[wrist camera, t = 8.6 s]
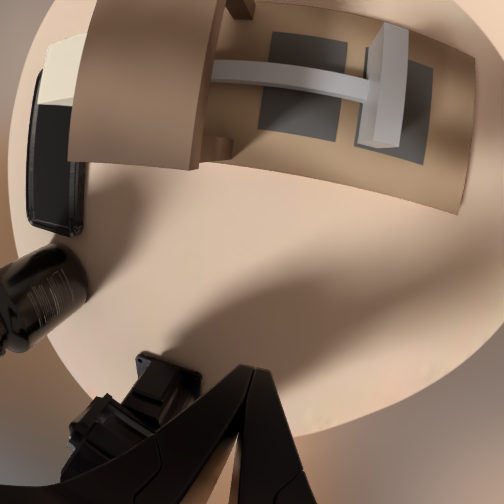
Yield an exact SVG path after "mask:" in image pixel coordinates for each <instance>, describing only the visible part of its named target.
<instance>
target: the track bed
mask: <svg viewBox="0 0 504 504" xmlns="http://www.w3.org/2000/svg"><path fill="white" fill-rule="evenodd" d="M254 3H255V5H256V7H255V12H254V18H253V20H234V19H233V18H232V16H231V14H230V13H229V11H228V10H227V8H226V7H225V9H224V13H223V18H222V23H221V28H220V33H219V38H218V43H217V48H216V53H215V59H214V60H242V61H257V62H269V63H278V64H287V65H294V66H302V67H308V68H314V69H320V70H326V71H331V72H336V73H341V74H345V75H350V76H354V77H358V78H363V79H366V73H367V63H368V51H369V47H370V46H371V44H372V42H373V40H374V39H375V37H376V35H377V34H378V32H379V30H380V28H381V27H382V25H383V23H384V22H382V21H378V20H375V19H371V18H367V17H363V16H359V15H355V14H350V13H345V12H340V11H335V10H329V9H323V8H317V7H310V6H302V5H293V4H282V3H267V2H254ZM474 105H475V58H473V57H471V56H469V55H467V54H465V53H463V52H461V51H459V50H457V49H455V48H453V47H450V46H448V45H446V44H444V43H441V42H439V41H437V40H434V39H432V38H429V37H427V36H424V35H421V34H419V33H416V32H413V31H410V30H409V41H408V66H407V81H406V93H405V103H404V112H403V120H402V128H401V135H400V142H399V147H392V148H374V147H370V146H366V145H362V144H358V143H357V142H358V136H359V129H360V122H361V115H362V108H363V103H360V102H356V101H352V100H347V99H343V98H338V97H333V96H328V95H323V94H318V93H312V92H306V91H300V90H293V89H286V88H278V87H270V86H260V85H250V84H237V83H218V82H210V88H209V94H208V101H207V107H206V114H205V121H204V128H203V135H209V136H215V137H221V138H227V139H232V140H234V142H233V149H232V157H231V160H222V161H212V162H213V163H221V164H229V165H236V166H243V167H250V168H257V169H263V170H269V171H276V172H281V173H287V174H293V175H298V176H304V177H309V178H314V179H319V180H324V181H329V182H333V183H338V184H343V185H347V186H352V187H356V188H360V189H365V190H369V191H373V192H377V193H381V194H385V195H389V196H393V197H397V198H400V199H404V200H408V201H411V202H415V203H418V204H422V205H425V206H429V207H432V208H436V209H439V210H442V211H445V212H449V213H452V214H455V215H458V211H459V207H460V203H461V198H462V194H463V189H464V184H465V179H466V173H467V167H468V161H469V155H470V147H471V139H472V130H473V119H474Z"/></svg>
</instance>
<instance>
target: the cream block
mask: <svg viewBox="0 0 504 504" xmlns="http://www.w3.org/2000/svg"><path fill="white" fill-rule="evenodd" d="M86 36H87V32H86V33H82V34H79V35H76V36H73V37H70V38H67V39H64V40H61V41H59V42H56V43H53V44H51V45H49V47H48V51H47V55H46V59H45V63H44V68H43V73H42V78H41V83H40V89H39V95H38V102H37V104H46V105H63V106H73V99H74V92H75V86H76V80H77V75H78V70H79V65H80V60H81V56H82V52H83V47H84V43H85V40H86Z"/></svg>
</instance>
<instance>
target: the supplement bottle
mask: <svg viewBox="0 0 504 504" xmlns="http://www.w3.org/2000/svg"><path fill="white" fill-rule="evenodd" d="M86 298H87V281H86V277H85V273H84V271H83V268H82V266H81V264H80V263H79V261H78V259H77V258H76V257H75V255H74V254H73V253H72V252H71V251H70V250H69V249H68V248H66V247H65V246H63V245H60V244H56V243H52V244H48V245H46V246H44V247H41V248H39V249H37V250H35V251H33V252H31V253H29V254H27V255H25V256H23V257H21V258H19V259H17V260H15V261H13V262H11V263H9V264H7V265H5V266H4V267H2V268H0V357H3V356H4V355H5V353H6V349H8V350H10V351H12V352H15V353H24V352H26V351H28V350H29V349H30V348H31V347H33V346H34V345H35V344H36V343H38V342H39V341H40V340H41V339H42V338H43V337H45V336H46V335H47V334H48V333H50V332H51V331H52V330H53V329H55V328H56V327H57V326H58V325H60V324H61V323H62V322H63V321H65V320H66V319H67V318H68V317H70V316H71V315H72V314H73V313H75V312H76V311H77V310H78V309H80V308H81V307H82V306H83V304H84V303H85V301H86Z"/></svg>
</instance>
